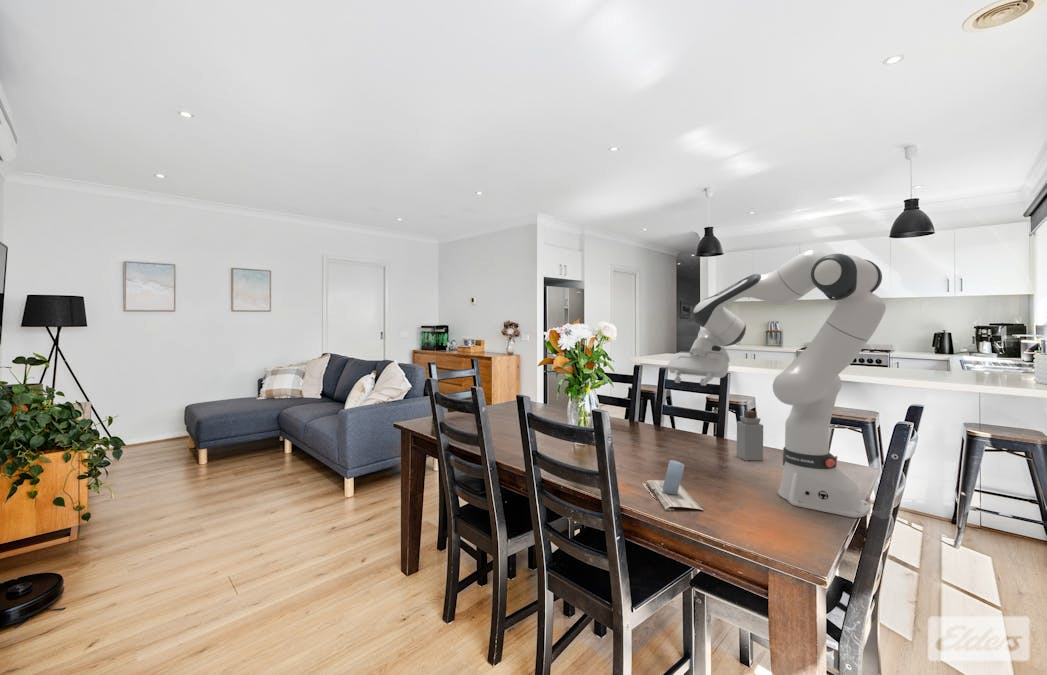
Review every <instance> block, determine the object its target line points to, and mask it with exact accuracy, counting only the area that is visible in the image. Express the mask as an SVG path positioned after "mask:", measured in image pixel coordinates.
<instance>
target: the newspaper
mask: <svg viewBox="0 0 1047 675" xmlns="http://www.w3.org/2000/svg"><path fill="white" fill-rule="evenodd" d="M664 481H665V480H663V479H662V480H660V479H659V480H658V479H656V480H655V479H649V480H646V483H644V482H643V483H641V484H642V486H643V487H644V488H645V490H647V492H648V493H649V492H650V491H649V490H648V488H647V486H646V484H647V485H648V487H649V488H650V489H651V491H652V492H653V494H654V495H655V497H656V498H657V500H658V502H659V503H660V504H661V505H662V507H663V509H664V510H665V511H666V512H668V511H670V512H672V511H671V510H674V511H675V508H683V509H684V508H685V509H686V508H687V509H695V510H700V511H701V510H702V512H704V511H705V510H704V509H703V508H702V507H701V506H700V505H699V504H698V503H697V501H696V500H695V499H694V498H693V497H692V496H691V495H690V493H688V491H686V490H685V488H684V487H683V486H682V485H681V484H680V485H679V489H678V493H677V495H672V494H669V493H667V492H665V491H663V490H662V489H663V485H664ZM653 494H651V492H650V493H649V495H651V497H652V498H653V497H654V496H653ZM655 497H654V498H655ZM654 498H653V499H654ZM671 507H673V508H671ZM667 510H668V511H667Z"/></svg>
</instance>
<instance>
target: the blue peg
mask: <svg viewBox="0 0 1047 675" xmlns="http://www.w3.org/2000/svg"><path fill="white" fill-rule="evenodd" d="M667 466H668V467H667V468H666V473H665V477H664V480H663V481H664V485H663V489H662V490H663V491H665V492H667V493H669V494H672V495H677V493H678V489H679V485H681V482H682V478H683V472H684V469H685V464H684V463H682V462H680V461H678V460H673V459H670V460H669V462H668V465H667Z"/></svg>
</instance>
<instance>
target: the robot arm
mask: <svg viewBox="0 0 1047 675" xmlns="http://www.w3.org/2000/svg"><path fill="white" fill-rule="evenodd" d="M882 280H883V273H882V271H881V269H880V267H879V266H878V265H877V264H876V263H875V262H873V261H871V260H868V259H864V258H861V257H859V256H856V255H853V254H852V255H851V254H844V253H831V254H827V255H826V253H823V252H821V251H820V250H816V249H809V250H805V251H803V252H801V253H800V254H797V255H796V256H794V257H793V258H791V259H789V260H788V261H786V262H785V263H783V264H781V266H779V267H778V268H777V269H775V270H772V271H770V272H767V273H763V274H758V273H757V274H756V273H754V274H751V275H749V276H746V277H745V278H741V279H740V280H739V281H737V282H735V283H734V284H731V285H730V286H729V287H726V288H725V289H723V290H721V291H719V292H718V293H715V294H714V295H712V296H709V297H706V298H704V299H701V301H699V302H698V304H696V305H695V306H694V308H693V310H692V316H693V317H692V319H693V322H694V323H695V324H697V325H698V326H700V329H699V331H698V334H697V338H695V340H694V341H693V343H692V346H691V347H690V350H689V351H681V350H680V351H679V352H676V353H674V355H673V356H672V358H671V359H670V360H669V361H668V364H667V369H668V370H669V372H670V374H674V375H675V377H674V379H673V381H674V383H677V384H680V383H681V382H682V378H681V376H682V375H686V376H687V375H688V376H698V377H704V378H701V379H700V382H699V384H700V385H701V386H704V387H705V386H707V384H708V383H709V382H710V381H712V380H713V379H714V378H718V379H721V378H725V377H726V376H727V373H728V371H729V364H730V362H731V361H730V356H729V354H728V352H727V350H726V348H725V347H728V346H730V347H731V346H734V345H736V344H739V343H740V342H741V341H742V339H743V338H744V336H745V335H746V331H747V325H746V322H744V321H743V320H742V319H741V318H740V317H739V316H737V315H736V314H734V313H733V312H731V311H730V310H729V309H728V308H726V306H728V305H730V304H732V303H733V302H736V301H737V300H740V299H742V298H751V299H756V300H761V301H764V302H766V303H768V304H772V305H777V306H778V305H779V306H786V305H790V304H792V303H794V302H796V301H798V300H799V299H801V298H802V297H804V296H805V295H807V294H808V293H810V292H811V291H812V290H814V289H815V288H817V289H818V290H819V291H821V292H822V293H823V294H824V295H825V296H826V297H827V299H829V300H830V301H835V306H834V309H833V310H832V312H831V313H830V314H829V316H828V318H827V319H826V320H825V321H824V323H823V325H822V326H821V328H819V331H818V332H817V333H816V335H815V336H814V338H813V339H812V341H811V342H810V343H809V344H808V345H807V347H806V348H804V349H803V351H802V352H801V353H799V355H798V356H797V357H796V358H795V359H794V360H793V361H792V362H791V363H790V364H789V365H788V367H786V369H784V370H783V371H782V372H780V373H779V374H778V375H777V376H776V377H775V378H774V379H773V383H772V392H773V395H774V396H775V397H776V398H777V400H779V401H780V402H781V403H782V404H785V405H789V406H792V407H791V410H790V413H789V415H788V417H787V418H786V420H785V426H784V427H785V428H784V429H785V432H784V435H785V436H784V437H785V438H784V447H783V450H782V466H783V472H782V476H781V481H780V485H779V489H778V490H777V494H778V495H779V496H780V497H782V499H785V500H787V501H788V502H789V504H790V505H792V506H795V507H799V508H804V509H810V510H814V511H819V512H824V513H829V514H834V515H840V516H843V517H849V518H853V519H857V518H863V517H865V516H867V515H869V513H870V512H871V504H870V503H869V502H868V501H867V500H864V499H862V498H861V497H862V496H861V491H860V488H859V486H858V484H857V483H856V482H855V481H854V480H853V479H852V478H850V477H849V476H848V475H847V474H845V473H844V472H843V471H842V470H841V469H839V468H838V466H837V465H838V464H837V462H838V455H835V456H834V455H833V454H832V453H830V452H829V450H830V448H829V447H830V445H829V444H830V427H831V426H830V425H831V420H832V416H833V412H834V409H835V404H836V400H837V397H838V394H839V392H840V391H841V388H842V379H841V377H840V373H842V372H843V371H844V370H845V369H846V368H848V367H849V366H850V365H851V364H853V362H854V360H855V359H856V357H858V355H859V354H860V352H861V351H862V350H863V348H864V347H865V346H866V344H867V343H868V342H869V340H870V339H871V338H872V336H873V335H874V333H875V332H876V330H877V328H878V327H879V324H880V323H881V321H882V320H883V317H884V315H885V312H886V309H887V307H886V303H885V301H884V300H883V299H882V298H881V297H880V296H878V295H876V293H873V292H875V291H876V290H877V289H878V288H879V287H880V285H881V283H882Z"/></svg>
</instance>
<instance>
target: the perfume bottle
mask: <svg viewBox="0 0 1047 675" xmlns="http://www.w3.org/2000/svg"><path fill="white" fill-rule="evenodd" d="M739 419H740V421H736V457H737V458H739V457H740V459H741V458H742V459H743V460H742V459H741V460H742V461H744V460H745V461H744V462H749V461H748V460H763V461H764V425H763V424H762V423H760V421H761V418H760V417H757V411H754V410H743V415H740V416H739Z"/></svg>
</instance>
